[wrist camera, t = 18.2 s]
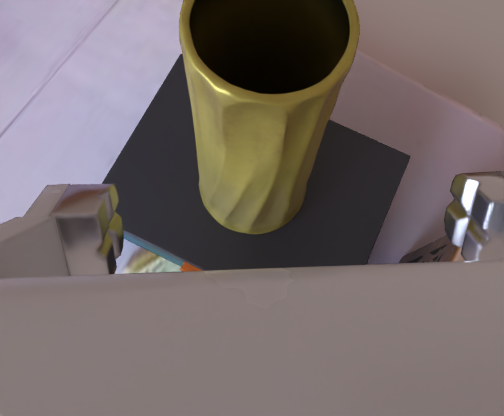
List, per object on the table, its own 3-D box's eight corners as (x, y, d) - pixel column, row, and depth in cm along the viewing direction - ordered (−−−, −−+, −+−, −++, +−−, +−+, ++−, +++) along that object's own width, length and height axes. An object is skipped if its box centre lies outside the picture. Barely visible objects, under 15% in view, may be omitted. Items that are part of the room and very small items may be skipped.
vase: (190, 145, 28) (146, -48, 14) (291, 125, 28) (344, -79, 15) (211, 245, 26) (184, 137, 12) (318, 222, 27) (405, 95, 13)
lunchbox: (109, 242, 33) (79, 219, 26) (193, 98, 36) (184, 46, 30) (313, 343, 31) (333, 344, 25) (381, 184, 34) (414, 148, 28)
